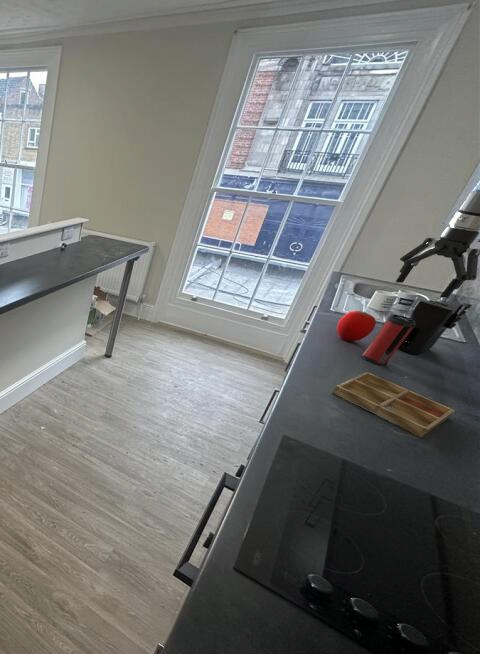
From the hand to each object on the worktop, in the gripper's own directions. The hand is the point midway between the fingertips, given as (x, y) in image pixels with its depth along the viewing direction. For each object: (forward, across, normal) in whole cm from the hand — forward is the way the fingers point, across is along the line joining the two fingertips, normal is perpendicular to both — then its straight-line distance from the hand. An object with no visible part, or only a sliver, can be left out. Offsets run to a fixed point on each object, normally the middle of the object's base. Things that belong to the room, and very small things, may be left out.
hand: (420, 289), depth 140 cm
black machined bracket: (+29, -5, +31) cm, 43 cm away
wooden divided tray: (+28, +26, -30) cm, 49 cm away
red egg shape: (+29, -14, +6) cm, 33 cm away
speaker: (+29, +2, -1) cm, 29 cm away
